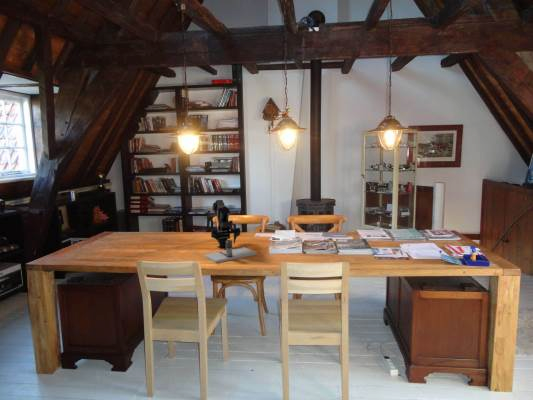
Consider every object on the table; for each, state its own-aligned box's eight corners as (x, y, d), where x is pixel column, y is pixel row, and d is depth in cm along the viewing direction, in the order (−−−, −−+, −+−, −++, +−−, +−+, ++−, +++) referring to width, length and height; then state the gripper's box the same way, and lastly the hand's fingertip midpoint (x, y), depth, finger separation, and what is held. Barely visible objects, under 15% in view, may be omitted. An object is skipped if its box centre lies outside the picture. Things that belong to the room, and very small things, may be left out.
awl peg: (224, 256, 241) (224, 241, 239) (229, 255, 244) (229, 239, 242) (229, 257, 238) (228, 242, 237) (234, 256, 241) (233, 240, 240)
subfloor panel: (204, 256, 247) (204, 254, 247) (244, 249, 263) (244, 247, 262) (215, 262, 234) (215, 260, 234) (256, 254, 249) (256, 252, 249)
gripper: (210, 217, 247) (213, 238, 238) (239, 215, 251) (243, 236, 243) (210, 227, 256) (212, 247, 247) (238, 224, 260) (241, 245, 251)
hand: (227, 243), depth 247 cm, fingers open, 9 cm apart
